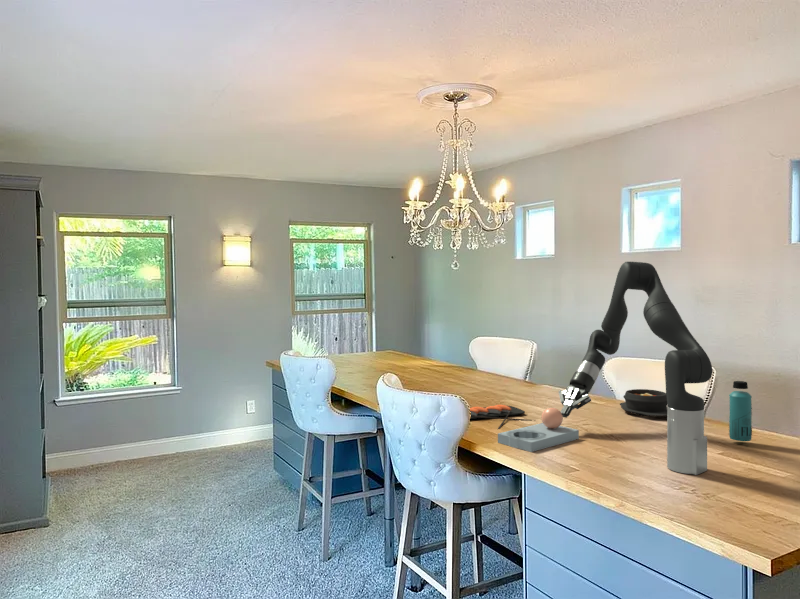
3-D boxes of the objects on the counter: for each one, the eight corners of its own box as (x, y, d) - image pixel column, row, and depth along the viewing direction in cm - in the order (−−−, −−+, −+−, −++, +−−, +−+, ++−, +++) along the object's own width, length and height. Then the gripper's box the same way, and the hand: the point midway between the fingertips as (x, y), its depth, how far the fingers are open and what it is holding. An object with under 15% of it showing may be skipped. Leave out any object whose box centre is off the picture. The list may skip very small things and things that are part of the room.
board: (578, 438, 197) (578, 429, 197) (530, 452, 182) (530, 442, 182) (545, 430, 208) (545, 422, 208) (497, 442, 194) (497, 433, 193)
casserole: (687, 419, 223) (687, 397, 222) (641, 421, 220) (641, 399, 220) (650, 406, 247) (650, 386, 247) (608, 407, 245) (608, 387, 244)
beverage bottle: (740, 446, 185) (740, 383, 185) (723, 441, 192) (724, 380, 191) (757, 445, 187) (757, 382, 187) (739, 439, 194) (740, 379, 193)
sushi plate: (509, 409, 246) (509, 400, 246) (550, 425, 217) (549, 415, 217) (445, 415, 237) (445, 405, 237) (478, 433, 208) (478, 422, 208)
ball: (567, 428, 199) (567, 408, 199) (553, 432, 195) (553, 410, 194) (550, 424, 204) (550, 404, 204) (537, 428, 200) (537, 407, 200)
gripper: (564, 368, 214) (543, 406, 207) (596, 372, 203) (574, 412, 196) (574, 381, 217) (552, 419, 210) (605, 385, 206) (584, 426, 199)
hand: (563, 416), depth 203 cm, fingers closed
